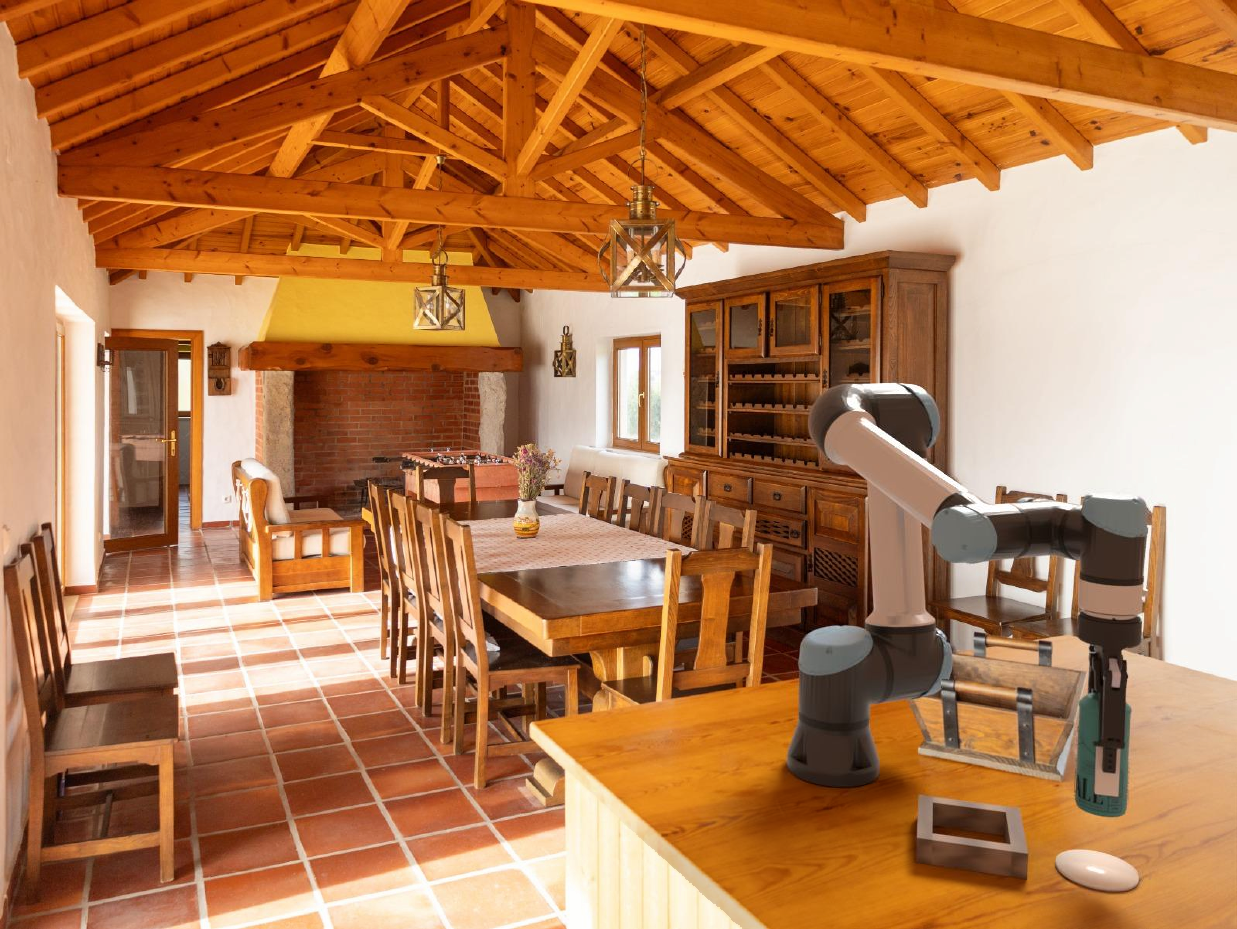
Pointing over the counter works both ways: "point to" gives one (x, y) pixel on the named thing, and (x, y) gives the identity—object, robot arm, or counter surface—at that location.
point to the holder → (971, 851)
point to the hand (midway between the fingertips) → (1101, 782)
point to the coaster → (1097, 870)
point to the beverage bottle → (1087, 760)
